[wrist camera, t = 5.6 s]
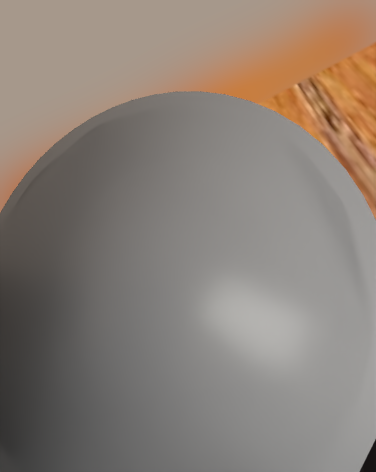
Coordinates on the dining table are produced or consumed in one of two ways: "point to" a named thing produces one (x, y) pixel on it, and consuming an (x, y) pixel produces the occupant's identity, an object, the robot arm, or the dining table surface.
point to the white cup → (187, 297)
